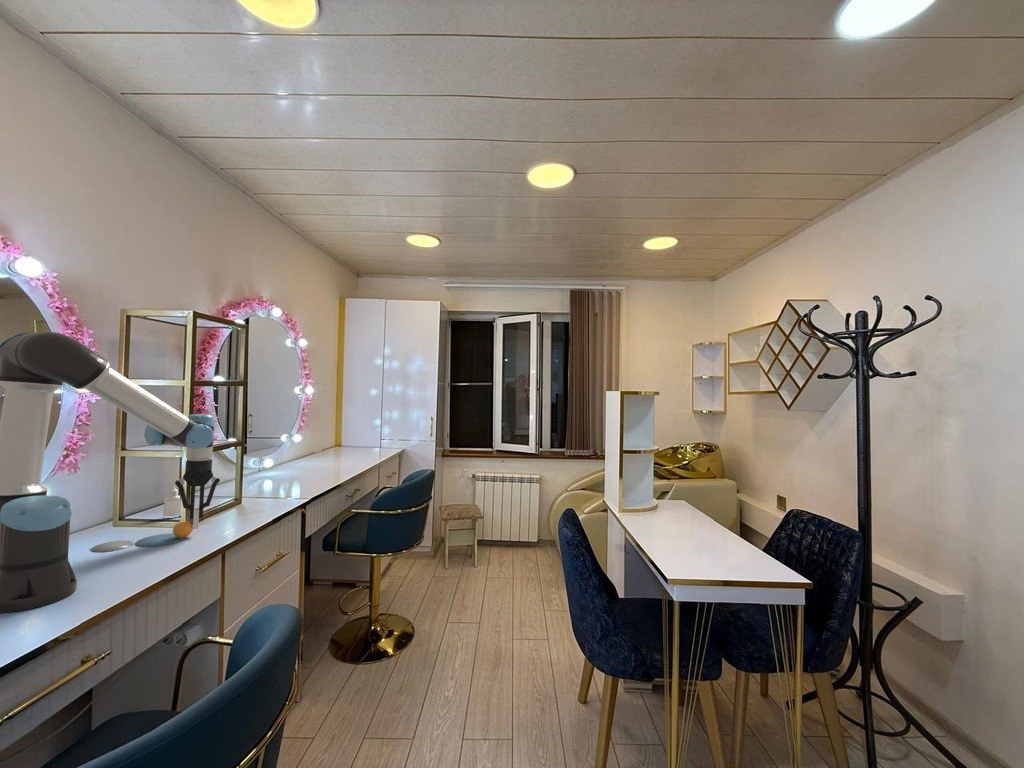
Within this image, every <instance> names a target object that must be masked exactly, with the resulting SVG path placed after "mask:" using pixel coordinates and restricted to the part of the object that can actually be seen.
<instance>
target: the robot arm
mask: <svg viewBox="0 0 1024 768" xmlns="http://www.w3.org/2000/svg"><path fill="white" fill-rule="evenodd" d="M64 384H66V385H69V386H70V387H72V388H74V389H76V390H86V391H88V392H91V393H92V394H93V395H95V396H97V397H99V398H101V399H102V400H104V401H105V402H107V403H109V404H111V405H112V406H114V407H116V408H118V409H119V410H120V411H122V412H125V413H126V414H129V415H130V416H131V417H133V418H135V419H137V420H138V421H139V422H140V421H141V422H142V423H143V424H146V426H145V428H144V432H143V433H144V440H145V442H146V444H147V445H149V446H159V447H161V446H174V447H182V448H186V451H185V452H186V453H185V458H186V461H185V466H184V467H185V469H184V473H183V475H182V477H181V478H179V479H176V480H175V482H174V485H176V486H177V487H178V493H179V496H181V500H182V508H183V509H185V510H186V509H187V510H189V515H188V517H189V519H190V520H193V522H192V526H193V530H196V529H197V530H199V523H200V522H199V519H202V518H203V517H204V508H207V507H209V506H210V505H211V501H212V499H213V496H214V493H215V490H216V487H217V485H218V484H219V482H220V481H221V479H220V477H218V476H215V475H214V473H213V471H212V470H213V460H212V458H213V452H214V451H213V450H214V433H215V432H214V431H215V419H214V418H215V417H214V416H213V415H212V414H209V413H207V414H205V413H201V414H200V413H196V414H189V415H188V416H187V415H185V414H183V413H182V412H181V411H179V410H177V409H176V408H174V407H173V406H172V405H169V404H168V403H166V402H165V401H163V400H161V399H160V398H159V397H158V396H156V395H154V394H152V393H151V392H149V391H148V390H146V389H144V388H143V387H141V386H140V385H138V384H137V383H135V382H134V381H132V380H130V378H127V377H126V376H125V375H123V374H121V373H120V372H118V371H117V370H115V369H114V368H112V367H110V361H109V360H108V359H106V358H105V357H103V356H101V355H100V354H98V353H96V352H95V351H94V350H92V349H91V348H89V347H88V346H86V345H85V344H83V343H82V342H80V341H78V340H77V339H75V338H73V337H71V336H69V335H66V334H62V333H59V332H55V331H43V332H42V331H41V332H39V331H38V332H37V331H35V332H32V331H31V332H30V331H29V332H28V331H27V332H21V333H17V334H13V335H11V336H10V335H9V336H8V337H6V338H5V339H3V340H2V341H1V342H0V386H1V387H3V388H4V390H5V391H4V396H3V397H4V398H3V402H2V403H3V404H2V408H1V409H2V410H1V414H0V415H1V416H0V614H2V613H12V612H20V611H26V610H31V609H35V608H40V607H42V606H47V605H50V604H52V603H55V602H59V601H60V600H63V599H65V598H67V597H69V596H70V595H72V594H73V593H75V592H76V590H77V585H78V584H77V581H78V579H77V578H76V576H75V573H74V570H73V568H72V566H71V563H70V561H69V549H70V548H69V546H70V534H71V533H70V530H71V518H72V510H71V504H70V502H69V500H68V499H66V498H64V497H62V496H57V495H47V494H48V488H47V487H46V486H45V485H44V484H42V483H41V479H42V473H43V466H44V459H45V452H46V446H47V439H48V432H49V427H50V426H49V425H50V418H51V412H52V405H53V398H54V393H55V391H57V390H59V389H61V388H62V387H63V385H64ZM210 481H211V485H210V488H209V491H208V495H207V498H206V501H205V486H207V484H208V483H209V482H210ZM185 482H186V483H187V485H189V487H190V497H189V498H190V499H189V503H188V499H187V495H186V491H185V488H184V487H185V486H184V484H185ZM196 487H199V501H198V502H199V504H198V507H195V502H196V499H195V498H196Z"/></svg>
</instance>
